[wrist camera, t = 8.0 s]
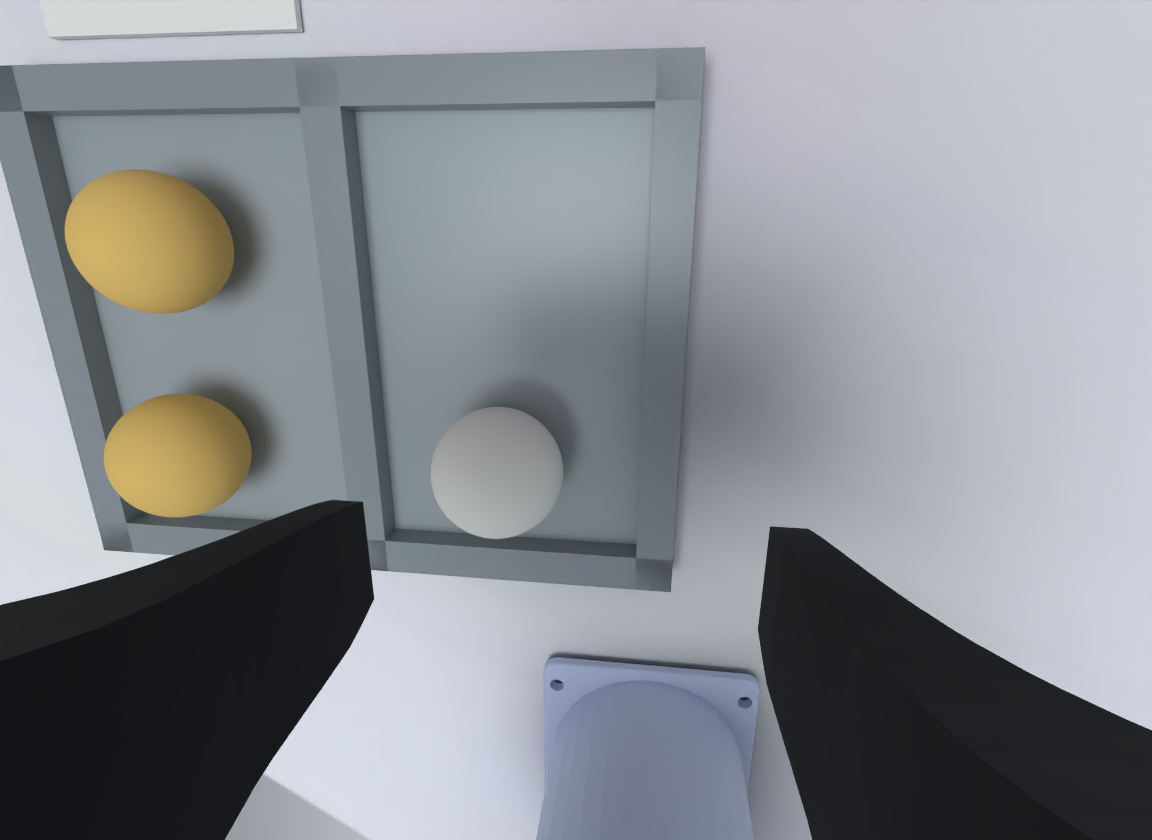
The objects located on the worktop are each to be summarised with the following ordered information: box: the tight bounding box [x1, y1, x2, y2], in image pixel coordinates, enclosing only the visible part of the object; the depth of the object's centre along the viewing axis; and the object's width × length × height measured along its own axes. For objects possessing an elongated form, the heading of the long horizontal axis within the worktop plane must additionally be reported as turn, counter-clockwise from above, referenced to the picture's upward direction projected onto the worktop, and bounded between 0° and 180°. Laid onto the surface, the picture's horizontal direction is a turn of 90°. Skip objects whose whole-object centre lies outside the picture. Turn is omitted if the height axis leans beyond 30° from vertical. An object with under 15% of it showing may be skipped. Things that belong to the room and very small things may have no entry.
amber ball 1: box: [65, 169, 234, 314], centre depth 17 cm, size 4×4×4 cm
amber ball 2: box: [104, 394, 252, 517], centre depth 20 cm, size 4×4×4 cm
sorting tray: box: [0, 47, 705, 592], centre depth 20 cm, size 16×21×1 cm
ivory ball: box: [431, 407, 563, 539], centre depth 18 cm, size 4×4×4 cm
